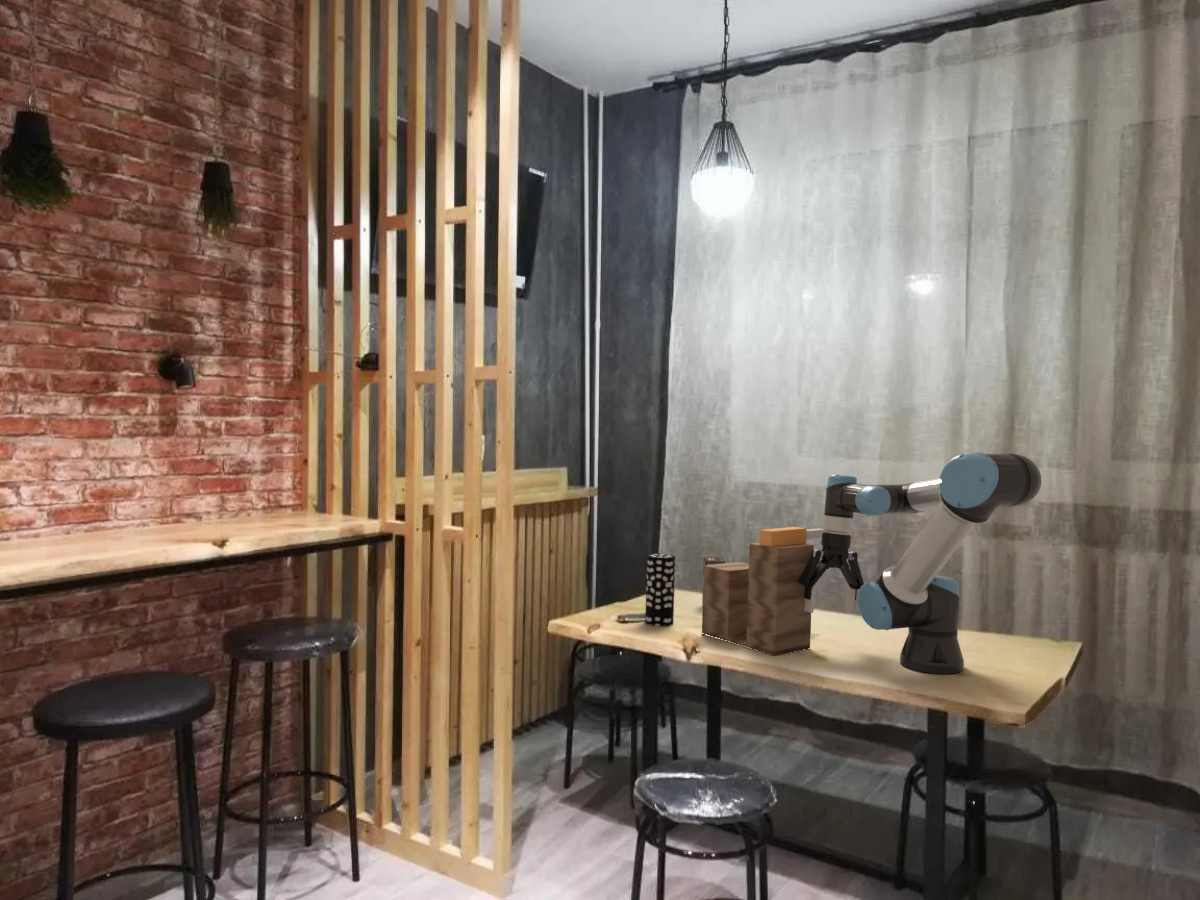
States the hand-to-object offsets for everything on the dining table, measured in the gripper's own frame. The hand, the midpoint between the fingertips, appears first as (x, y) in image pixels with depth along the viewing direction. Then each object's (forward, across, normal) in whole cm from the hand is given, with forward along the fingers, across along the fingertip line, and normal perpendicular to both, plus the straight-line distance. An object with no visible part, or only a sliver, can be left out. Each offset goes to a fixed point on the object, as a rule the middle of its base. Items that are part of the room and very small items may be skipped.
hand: (828, 612), depth 244 cm
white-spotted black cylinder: (+12, +25, -44) cm, 52 cm away
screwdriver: (-17, +7, -8) cm, 20 cm away
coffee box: (+10, -1, -55) cm, 56 cm away
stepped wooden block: (+11, +12, -15) cm, 22 cm away
